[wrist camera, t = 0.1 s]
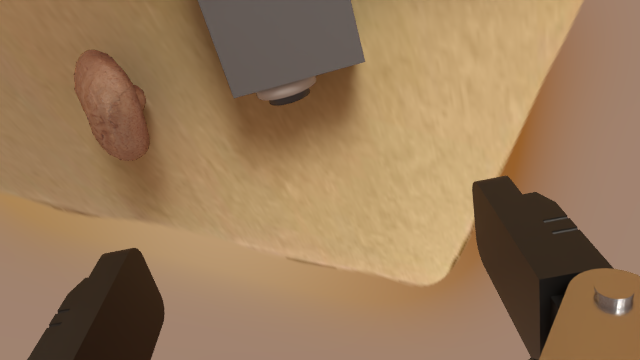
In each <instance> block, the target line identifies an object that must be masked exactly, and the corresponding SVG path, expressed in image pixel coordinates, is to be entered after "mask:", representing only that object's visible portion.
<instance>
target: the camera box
mask: <svg viewBox="0 0 640 360" xmlns="http://www.w3.org/2000/svg"><path fill="white" fill-rule="evenodd" d="M198 3H199V5H200V8H201V11H202V13H203V16H204V19H205V22H206V24H207V27H208V30H209V32H210V35H211V38H212V40H213V43H214V46H215V49H216V51H217V54H218V57H219V59H220V62H221V65H222V68H223V70H224V73H225V76H226V78H227V81H228V84H229V87H230V89H231V92H232V95H233V97H234V98H237V97H241V96H244V95H248V94H252V93H255V92H256V94H257V97H258V99H260V100H269V102H270V104H271V105H285V104H289V103H292V102H295V101H298V100H300V99H302V98H304V97H305V96H307V95H308V94H309V92H310V90H309V87H311V86H312V85H313V84H314V83H315V82H316V75H320V74H323V73H327V72H330V71H334V70H338V69H341V68H345V67H348V66H352V65H356V64H359V63H363V62H365V59H364V55H363V51H362V47H361V42H360V38H359V34H358V30H357V25H356V21H355V17H354V13H353V8H352V4H351V0H198Z"/></svg>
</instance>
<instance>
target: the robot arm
mask: <svg viewBox="0 0 640 360" xmlns="http://www.w3.org/2000/svg"><path fill="white" fill-rule="evenodd" d="M472 192H473V204H474V217H475V229H476V240H477V245H478V250H479V254H480V257H481V260H482V262H483V265H484V267H485V268H486V271H487V272H488V274H489V276H490V278H491V280H492V282H493V284H494V286H495V288H496V290H497V292H498V294H499V296H500V298H501V300H502V302H503V304H504V306H505V308H506V309H507V311H508V313H509V315H510V317H511V319H512V321H513V323H514V325H515V327H516V329H517V331H518V333H519V335H520V336H521V339H522V340H523V342H524V344H525V346H526V348H527V350H528V352H529V354H530V356H531V358H530V359H529V360H640V276H638V275H636V274H633V273H631V272H627V271H623V270H618V269H614V268H613V267H612V266H611V265H610V264H609V263H608V262H607V260H606V259H605V258H604V257H603V256H602V255H601V254H600V253H599V251H598V250H597V249H596V248H595V247H594V246H593V244H592V243H591V242H590V241H589V240H588V239H587V238H586V236H585V235H584V234H583V233H582V232H581V231H580V230H578V229H577V226H576V225H575V224H574V223H573V222H572V220H571V219H570V218H567V215H566V214H565V212H564V211H563V210H562V209H561V208H560V207H559V206H558V204H557V203H556V202H554V201H552V200H550V199H548V198H546V197H544V196H543V195H541V194H539V193H537V192H533V193H528V194H523V195H522V193H521V192H520V191H519V189H518V188H517V187H516V186H515V184H514V183H513V182H512V180H511V179H510V178H509V177H508V176H502V177H497V178H491V179H486V180H481V181H476V182H474V183H473V187H472ZM163 321H164V304H163V300H162V297H161V294H160V292H159V290H158V288H157V286H156V284H155V281H154V279H153V277H152V275H151V273H150V270H149V268H148V266H147V264H146V262H145V259H144V257H143V255H142V253H141V252H140V251H139V250H138V249H136V248H131V249H126V250H121V251H115V252H110V253H105V254H103V255H102V256H101V258H100V259H99V261H98V262H97V264H96V266H95V268H94V269H93V271H92V272H91V274H90V276H89V278H85V279H84V280H83V281H82V282H81V283H79V284H78V285H77V286H76V287H75V288H74V289H73V290H72V291H71V292H70V293H69V294H68V295H67V296H66V298H65V300H64V301H63V303H62V305H61V306H60V308H59V309H58V314H55V316H54V318H53V319H52V321H51V322H50V324H49V328H47V329H46V330H45V332H44V334H43V335H42V337H41V338H40V340H39V342H38V343H37V345H36V346H35V348H34V350H33V351H32V353H31V355H30V357H29V358H28V359H27V360H151V357H152V354H153V351H154V348H155V345H156V342H157V339H158V336H159V334H160V330H161V328H162V325H163Z"/></svg>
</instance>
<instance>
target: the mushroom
mask: <svg viewBox="0 0 640 360" xmlns="http://www.w3.org/2000/svg"><path fill="white" fill-rule="evenodd" d="M74 81H75V88H74V89H75V92H76V94H77V96H78V98H79V100H80V102H81V105H82V107H83V110H84V111H85V113H86V115H87V119H88V120H89V124H90V126H91V129H92V133H93V135H94V136H95V137H96V140H97V141H98V142H99V144H100V145H101V146H102V148H104V149H105V150H106V151H107V152H108V153H109V154H110V155H113V156H114V157H117V158H119V159H120V160H127V161H129V160H135V159H138V158H140V157H142V155H144V154H145V153H146V152H147V150H148V148H149V133H148V129H147V125H146V122H145V117H144V115H143V109H144V107H145V103H146V98H145V96H144V92H143V90H142V89H140V88H139V87H138V86H136V85H133V84H132V82H131V81H130V79H129V78H128V76H127V74H126V73H125V72H124V70H122V68H121V67H120V66H119V65H118V64H117V63H116V62H115V61H114V59H113V58H112V57H110V56H109V55H108V54H106V53H103V52H100V51H97V50H88V51H85V52H84V53H83V54H82V55H81V56H80V57H79V60H78V61H77V62H76V68H75V73H74Z"/></svg>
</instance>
